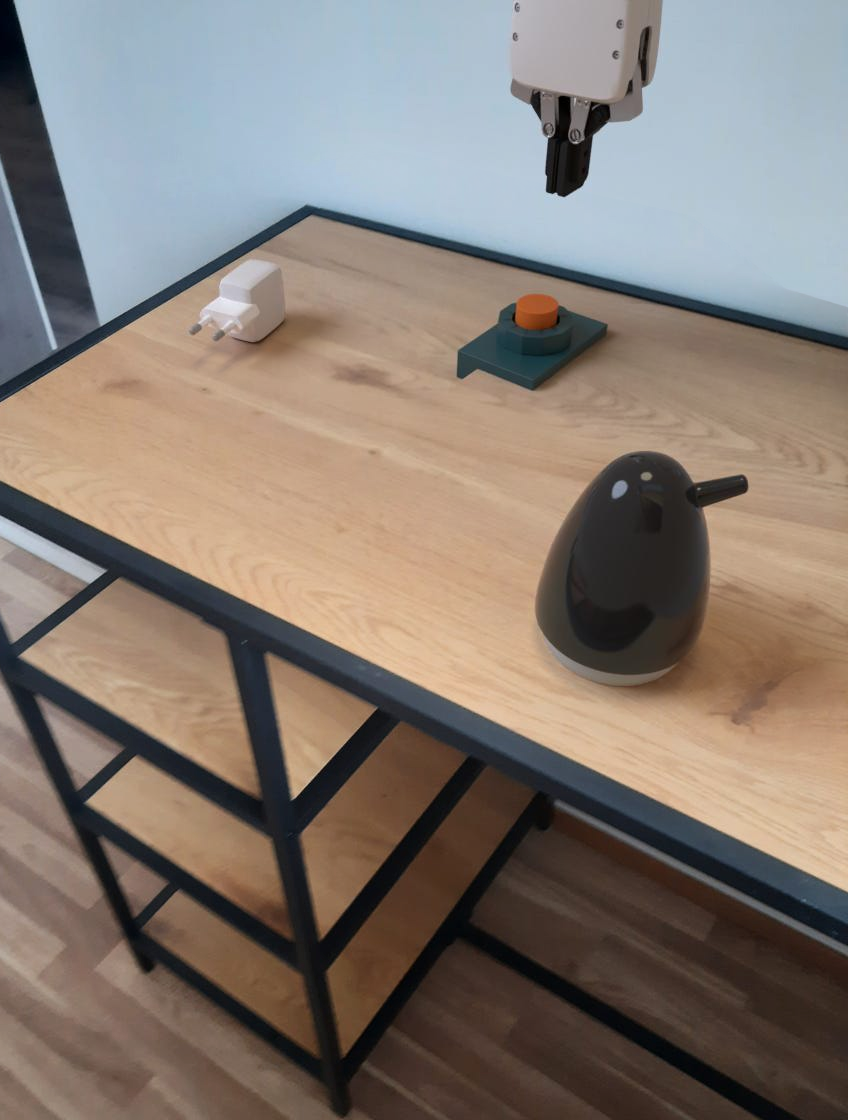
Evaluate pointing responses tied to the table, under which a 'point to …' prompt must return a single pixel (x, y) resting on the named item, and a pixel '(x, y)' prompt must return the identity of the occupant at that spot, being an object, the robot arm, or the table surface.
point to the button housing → (529, 348)
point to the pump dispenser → (631, 571)
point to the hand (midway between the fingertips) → (564, 189)
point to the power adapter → (246, 303)
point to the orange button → (536, 312)
